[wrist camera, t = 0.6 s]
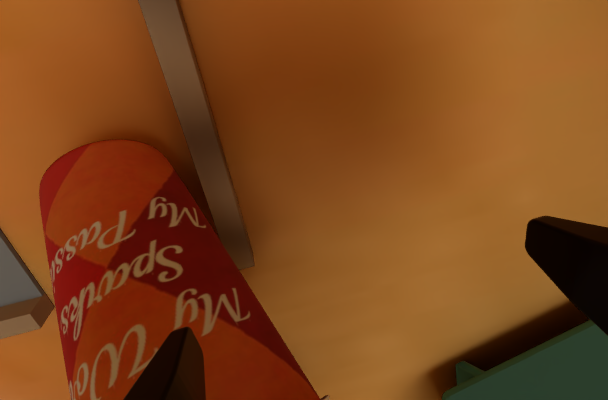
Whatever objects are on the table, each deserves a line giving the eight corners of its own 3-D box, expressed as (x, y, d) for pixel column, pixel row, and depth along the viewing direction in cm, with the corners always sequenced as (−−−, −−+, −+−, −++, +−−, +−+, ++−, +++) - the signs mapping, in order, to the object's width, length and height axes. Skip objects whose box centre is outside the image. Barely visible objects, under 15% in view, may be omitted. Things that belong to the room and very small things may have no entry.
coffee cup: (144, 86, 14) (358, 467, 8) (210, 183, 21) (349, 420, 15) (-60, 187, 13) (-5, 756, 6) (86, 254, 20) (180, 549, 14)
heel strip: (253, 252, 23) (254, 265, 21) (231, 258, 23) (231, 272, 21) (170, -27, 15) (165, -33, 14) (137, -21, 15) (129, -27, 14)
